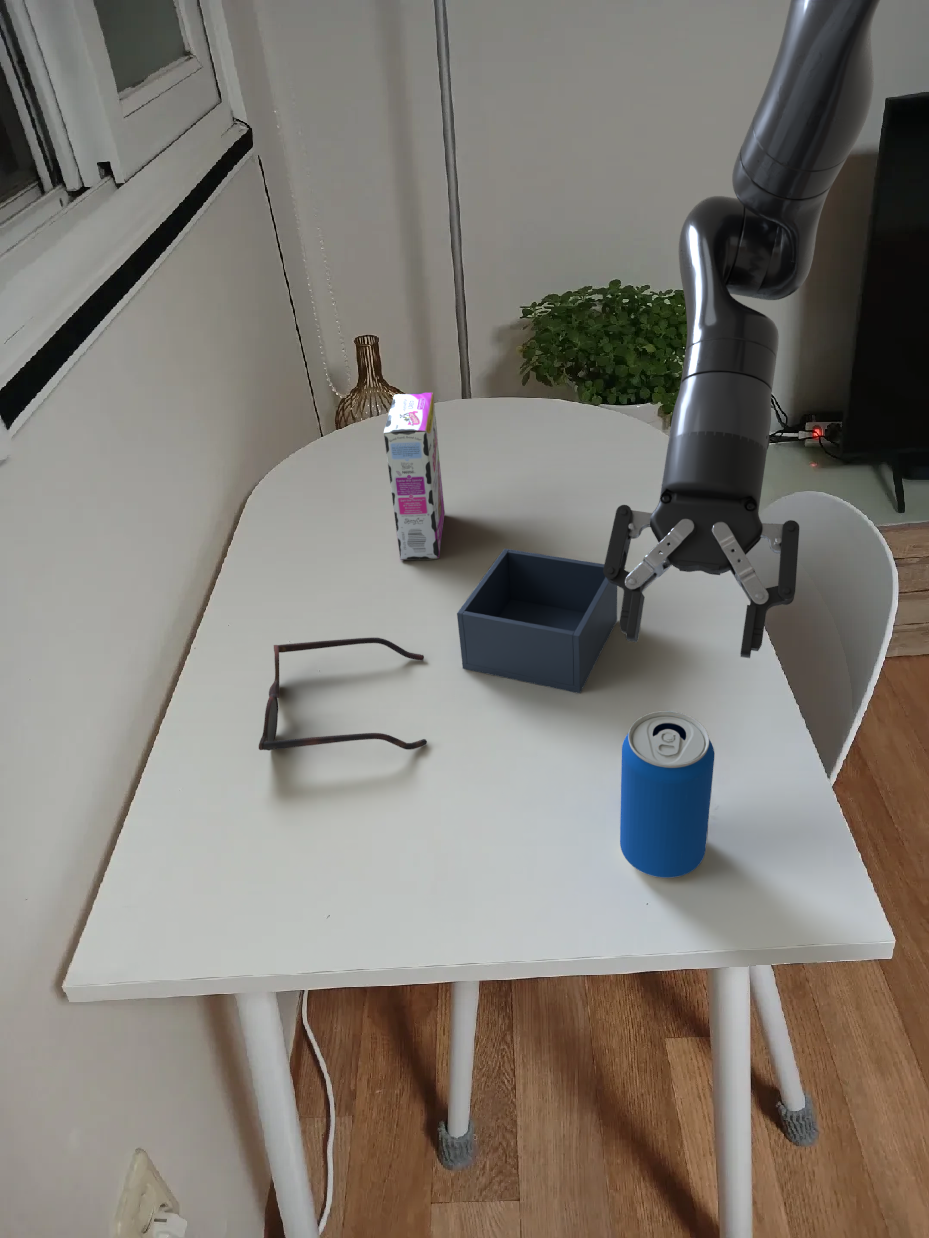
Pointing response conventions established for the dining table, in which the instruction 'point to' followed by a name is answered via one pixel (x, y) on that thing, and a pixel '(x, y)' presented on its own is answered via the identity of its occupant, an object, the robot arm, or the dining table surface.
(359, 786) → the dining table surface
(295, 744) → the eyeglasses
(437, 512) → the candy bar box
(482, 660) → the bin
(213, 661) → the dining table surface
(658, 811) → the beverage can
